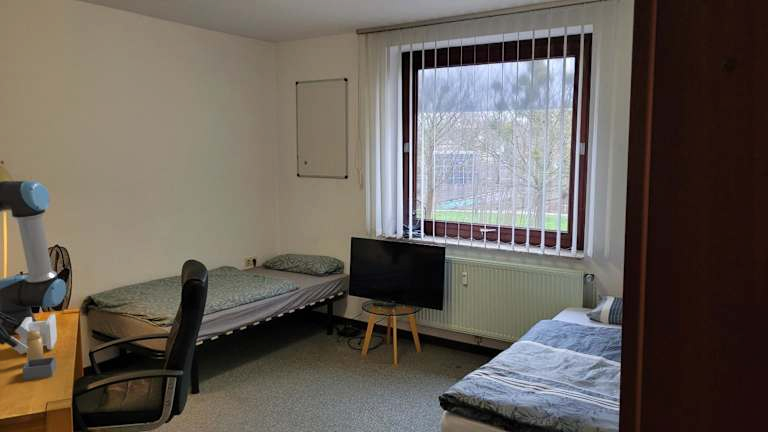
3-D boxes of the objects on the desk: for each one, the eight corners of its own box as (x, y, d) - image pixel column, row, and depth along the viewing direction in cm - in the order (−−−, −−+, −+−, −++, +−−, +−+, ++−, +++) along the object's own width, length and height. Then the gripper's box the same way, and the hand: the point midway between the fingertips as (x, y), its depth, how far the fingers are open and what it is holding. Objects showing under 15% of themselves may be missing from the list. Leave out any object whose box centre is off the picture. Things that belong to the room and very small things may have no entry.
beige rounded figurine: (29, 361, 209) (26, 330, 208) (44, 359, 211) (42, 329, 210) (26, 366, 205) (24, 334, 203) (42, 364, 207) (40, 333, 205)
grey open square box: (28, 371, 200) (27, 360, 200) (56, 367, 203) (55, 356, 203) (23, 380, 192) (22, 368, 192) (52, 376, 195) (51, 365, 195)
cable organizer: (52, 352, 218) (49, 323, 217) (19, 356, 215) (17, 326, 213) (57, 340, 232) (55, 312, 231) (27, 343, 228) (25, 315, 227)
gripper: (-22, 306, 210) (28, 342, 217) (-45, 326, 187) (12, 364, 194) (-6, 291, 211) (43, 326, 218) (-26, 308, 188) (29, 347, 195)
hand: (29, 344), depth 206 cm, fingers open, 13 cm apart
